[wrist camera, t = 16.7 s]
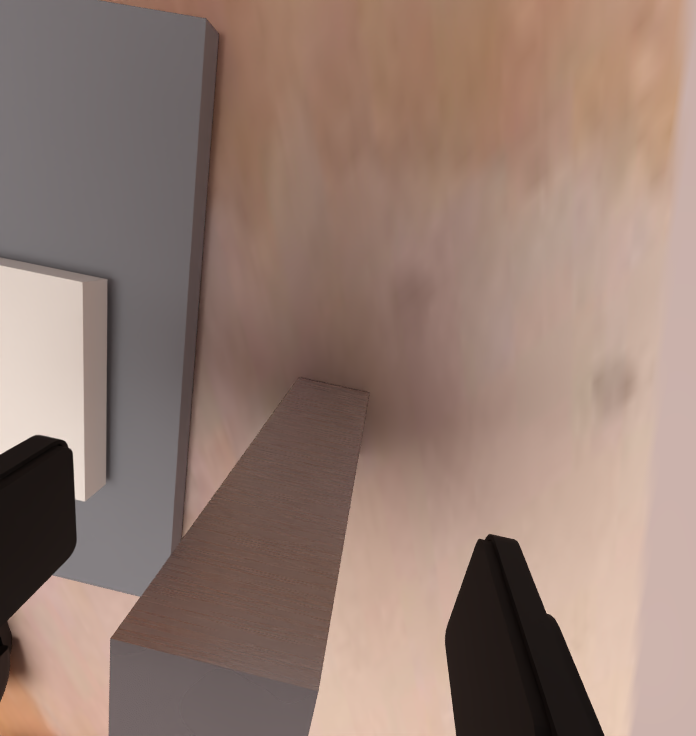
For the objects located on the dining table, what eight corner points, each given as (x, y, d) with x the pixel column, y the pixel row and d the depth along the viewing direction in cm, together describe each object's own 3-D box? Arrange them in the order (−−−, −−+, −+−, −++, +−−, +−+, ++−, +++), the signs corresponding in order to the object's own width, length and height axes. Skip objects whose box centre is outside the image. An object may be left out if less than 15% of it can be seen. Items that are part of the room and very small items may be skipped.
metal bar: (298, 377, 17) (110, 638, 6) (369, 392, 17) (318, 691, 6) (288, 441, 18) (107, 775, 7) (355, 456, 18) (287, 823, 7)
